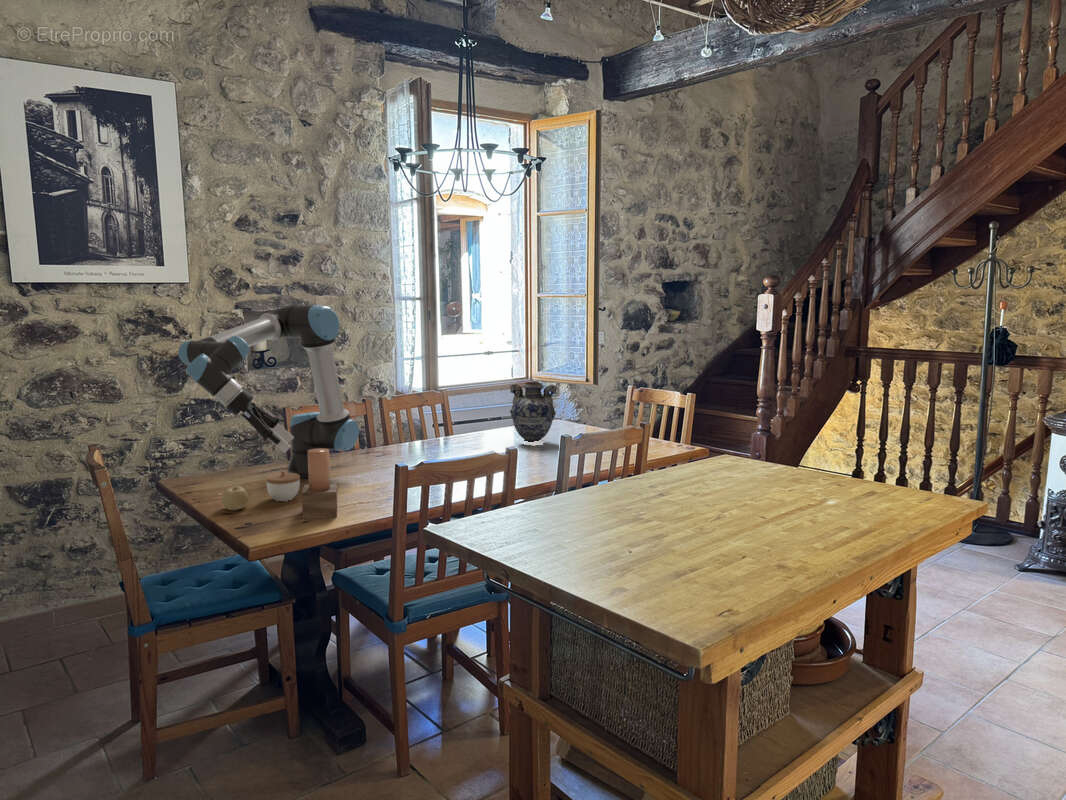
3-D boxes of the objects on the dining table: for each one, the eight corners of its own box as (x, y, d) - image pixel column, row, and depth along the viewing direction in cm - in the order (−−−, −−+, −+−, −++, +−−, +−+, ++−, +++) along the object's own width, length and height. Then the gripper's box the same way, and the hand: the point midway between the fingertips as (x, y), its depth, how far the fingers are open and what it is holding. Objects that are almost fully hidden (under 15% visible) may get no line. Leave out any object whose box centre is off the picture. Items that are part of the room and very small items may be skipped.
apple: (249, 502, 245) (253, 485, 241) (242, 519, 238) (246, 501, 234) (224, 496, 243) (228, 478, 239) (216, 512, 236) (220, 494, 232)
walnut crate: (304, 509, 238) (304, 485, 237) (337, 507, 240) (336, 483, 239) (302, 519, 229) (302, 493, 227) (336, 517, 231) (336, 491, 230)
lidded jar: (290, 504, 244) (289, 476, 242) (260, 502, 246) (259, 474, 244) (306, 495, 254) (305, 468, 253) (277, 493, 256) (276, 467, 255)
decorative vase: (505, 446, 334) (506, 384, 330) (513, 439, 352) (514, 380, 349) (552, 449, 331) (554, 386, 327) (558, 441, 349) (559, 381, 345)
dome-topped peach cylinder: (309, 486, 236) (308, 448, 234) (330, 485, 237) (329, 448, 235) (308, 491, 230) (306, 453, 228) (330, 490, 231) (328, 452, 229)
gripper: (231, 400, 235) (283, 445, 241) (218, 413, 211) (277, 463, 217) (248, 383, 235) (300, 428, 241) (237, 394, 212) (295, 444, 217)
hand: (289, 445), depth 229 cm, fingers open, 13 cm apart
